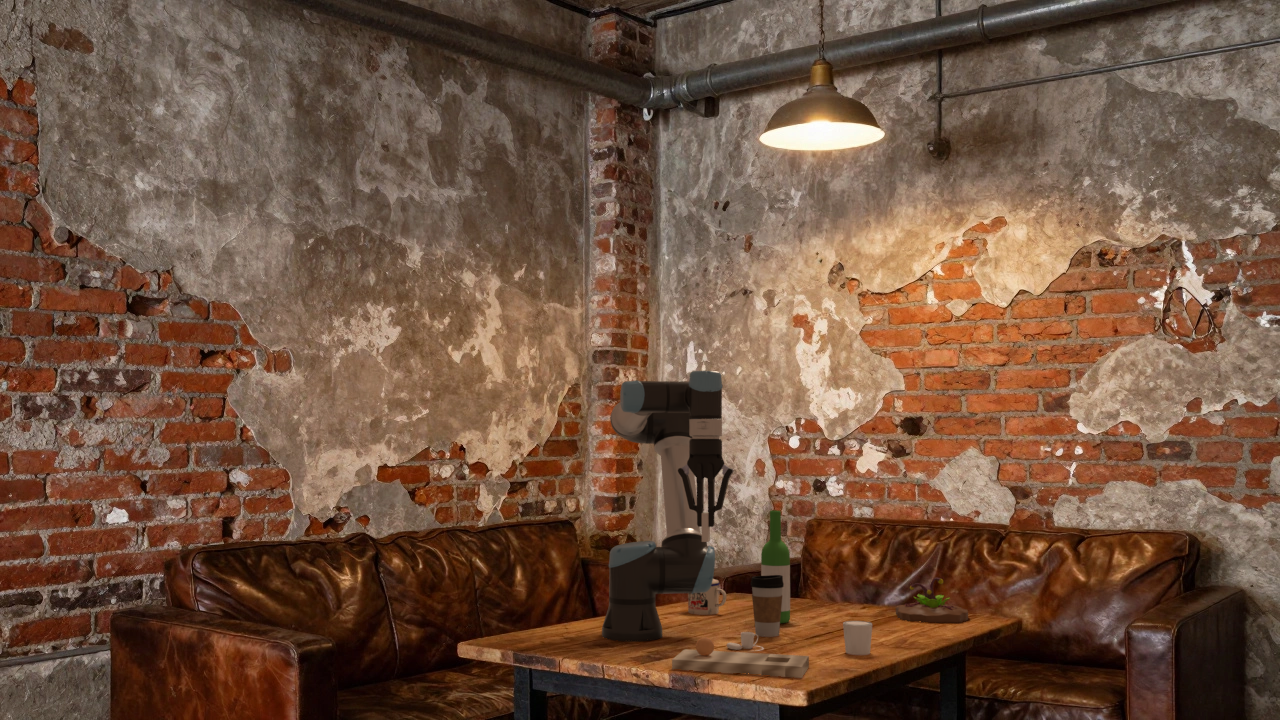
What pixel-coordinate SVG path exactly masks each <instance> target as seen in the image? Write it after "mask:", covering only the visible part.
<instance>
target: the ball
mask: <svg viewBox="0 0 1280 720" xmlns="http://www.w3.org/2000/svg"><path fill="white" fill-rule="evenodd" d="M695 650H697V652H698V653H699V654H700V655H703V656H708V655H710V654H711V653H712V652H713V651H715V643H714V642H713V640H712V639H711V638H710V637H707V636H703V637H700V638H699V639H697V641H696V644H695Z"/></svg>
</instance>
